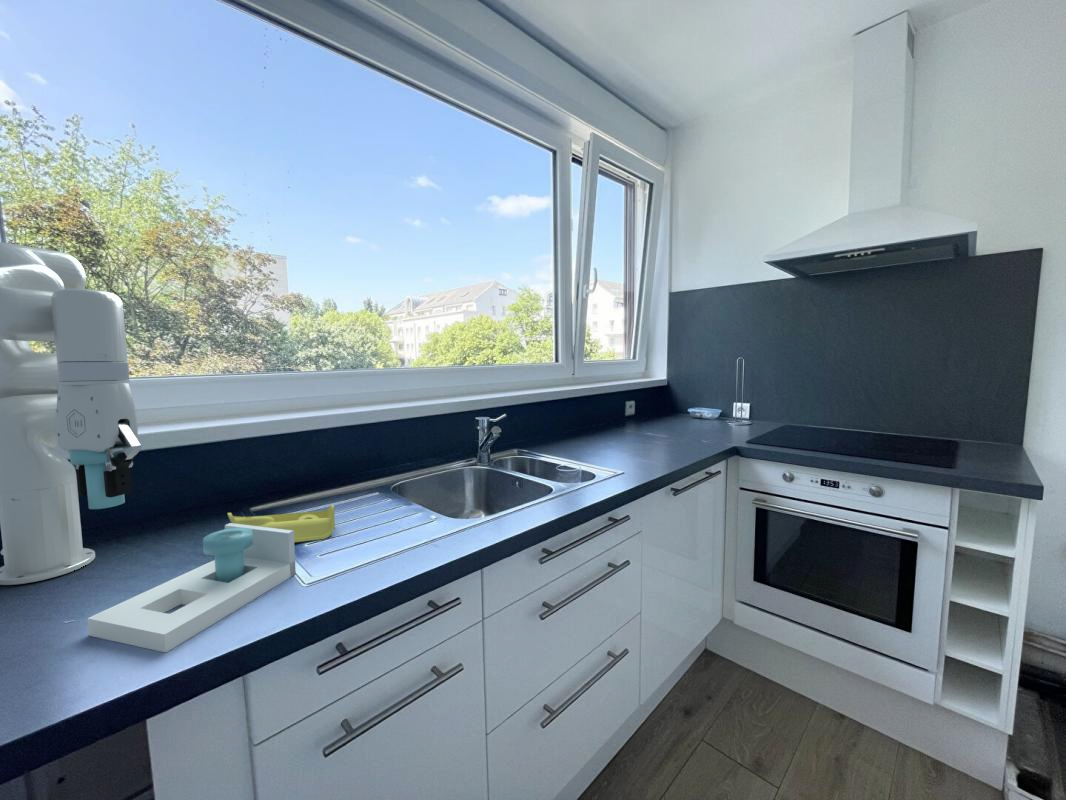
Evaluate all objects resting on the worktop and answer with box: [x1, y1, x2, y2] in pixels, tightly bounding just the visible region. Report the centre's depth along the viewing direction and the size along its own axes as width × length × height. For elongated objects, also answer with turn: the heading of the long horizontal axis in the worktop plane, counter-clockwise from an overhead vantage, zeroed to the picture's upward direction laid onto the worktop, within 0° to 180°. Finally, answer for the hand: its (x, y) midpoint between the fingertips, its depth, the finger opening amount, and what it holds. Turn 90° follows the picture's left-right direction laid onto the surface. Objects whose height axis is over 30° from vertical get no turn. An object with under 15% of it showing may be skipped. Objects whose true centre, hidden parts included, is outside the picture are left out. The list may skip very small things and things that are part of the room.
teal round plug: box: [68, 445, 126, 510], centre depth 67 cm, size 7×7×9 cm
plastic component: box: [227, 504, 336, 544], centre depth 95 cm, size 20×7×10 cm
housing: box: [86, 522, 297, 654], centre depth 70 cm, size 14×22×8 cm, turn 166°
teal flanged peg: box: [202, 527, 253, 583], centre depth 74 cm, size 7×7×9 cm
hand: (105, 492), depth 67 cm, fingers closed on teal round plug, 4 cm apart
